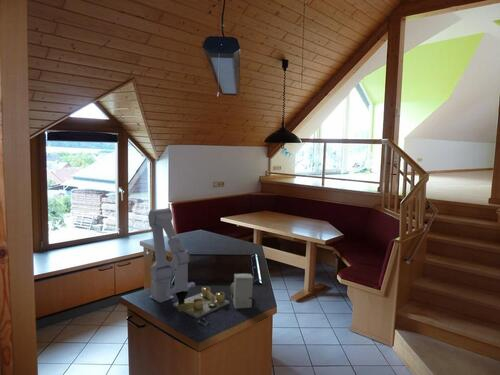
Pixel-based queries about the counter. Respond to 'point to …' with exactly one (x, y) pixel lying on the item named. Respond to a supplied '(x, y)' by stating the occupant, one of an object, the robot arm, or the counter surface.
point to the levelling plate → (205, 304)
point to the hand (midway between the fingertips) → (181, 306)
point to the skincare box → (243, 290)
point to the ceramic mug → (232, 290)
